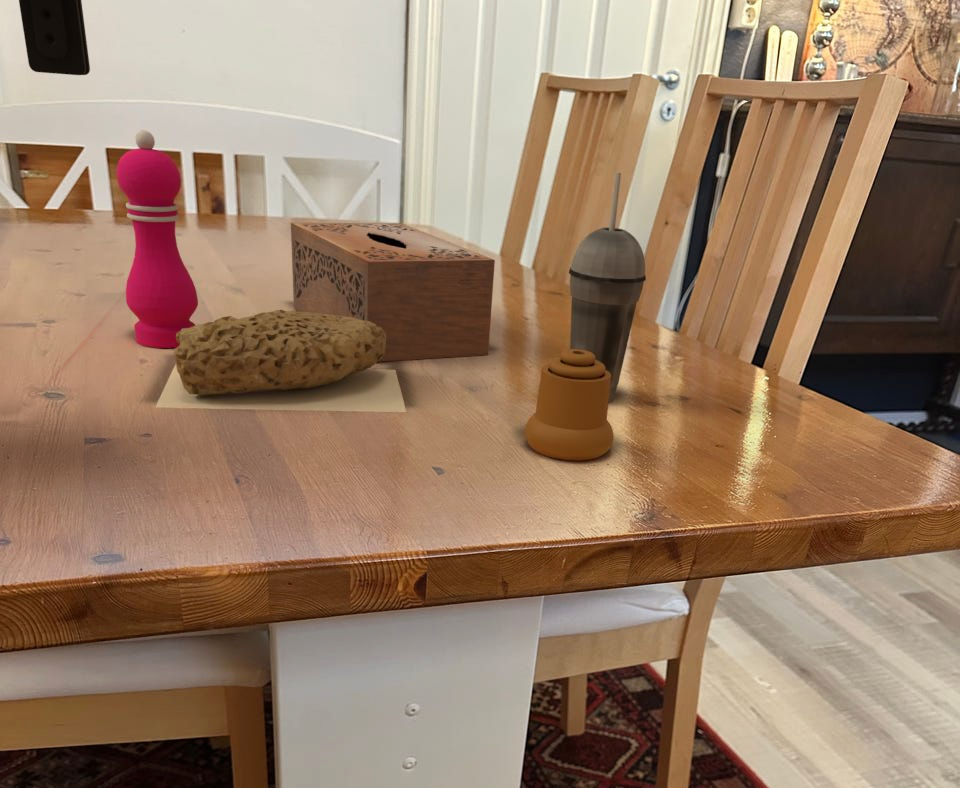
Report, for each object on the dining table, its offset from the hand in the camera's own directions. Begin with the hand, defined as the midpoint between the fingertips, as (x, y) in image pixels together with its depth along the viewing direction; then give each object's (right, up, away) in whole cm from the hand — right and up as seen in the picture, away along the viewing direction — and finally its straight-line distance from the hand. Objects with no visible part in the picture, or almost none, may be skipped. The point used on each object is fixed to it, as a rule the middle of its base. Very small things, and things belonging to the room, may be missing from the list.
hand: (60, 72), depth 57 cm
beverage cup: (+37, -11, +36) cm, 53 cm away
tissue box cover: (+14, +2, +54) cm, 56 cm away
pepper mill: (-8, -3, +43) cm, 44 cm away
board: (+7, -11, +32) cm, 34 cm away
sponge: (+7, -10, +32) cm, 35 cm away
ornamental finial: (+33, -19, +22) cm, 44 cm away
